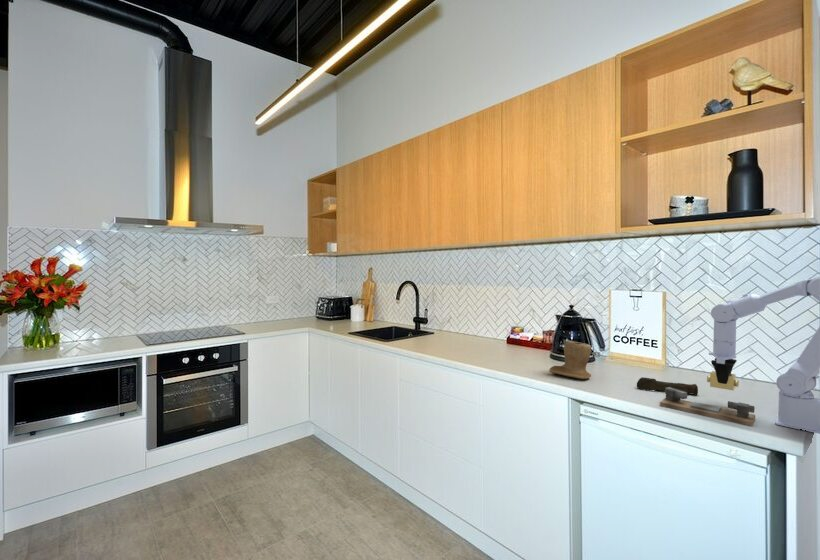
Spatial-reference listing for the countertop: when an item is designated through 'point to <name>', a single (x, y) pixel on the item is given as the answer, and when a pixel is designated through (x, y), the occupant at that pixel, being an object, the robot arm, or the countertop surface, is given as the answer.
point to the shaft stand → (709, 408)
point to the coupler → (714, 383)
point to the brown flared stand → (574, 360)
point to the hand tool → (666, 385)
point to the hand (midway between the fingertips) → (723, 381)
